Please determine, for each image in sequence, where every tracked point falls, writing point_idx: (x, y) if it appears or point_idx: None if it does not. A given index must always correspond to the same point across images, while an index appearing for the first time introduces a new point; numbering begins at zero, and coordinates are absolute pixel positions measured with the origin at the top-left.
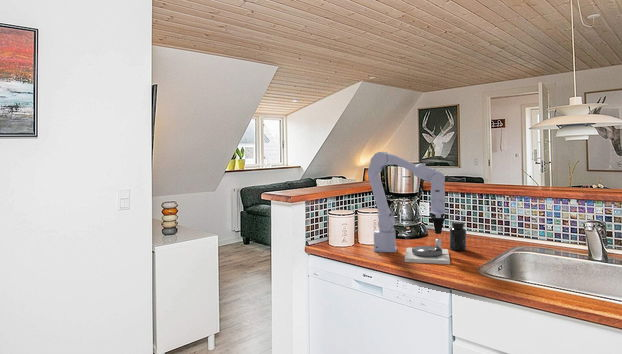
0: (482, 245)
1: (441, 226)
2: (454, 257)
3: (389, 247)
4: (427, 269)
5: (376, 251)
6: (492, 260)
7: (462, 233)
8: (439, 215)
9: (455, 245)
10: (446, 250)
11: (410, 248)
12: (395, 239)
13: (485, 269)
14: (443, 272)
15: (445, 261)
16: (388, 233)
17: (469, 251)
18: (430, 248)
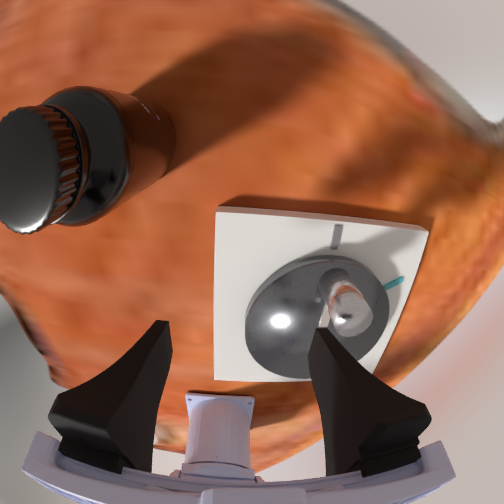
0: (53, 32)
1: (363, 372)
2: (315, 182)
3: (248, 421)
4: (448, 302)
5: (249, 429)
6: (351, 14)
7: (127, 115)
8: (442, 465)
9: (164, 163)
10: (248, 222)
11: (229, 371)
12: (217, 430)
13: (469, 105)
14: (478, 258)
15: (420, 247)
16: (250, 467)
17: (171, 81)
18: (300, 317)
